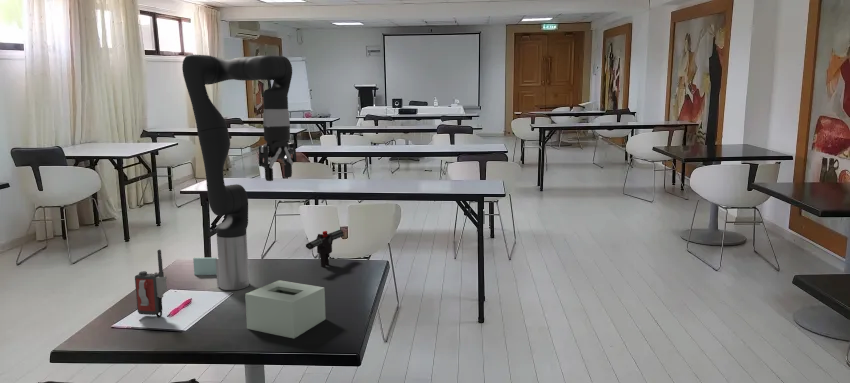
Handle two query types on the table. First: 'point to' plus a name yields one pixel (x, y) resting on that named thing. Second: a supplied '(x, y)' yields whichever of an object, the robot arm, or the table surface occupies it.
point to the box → (285, 308)
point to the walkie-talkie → (150, 290)
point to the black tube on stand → (324, 245)
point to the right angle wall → (204, 266)
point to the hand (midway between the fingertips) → (278, 178)
